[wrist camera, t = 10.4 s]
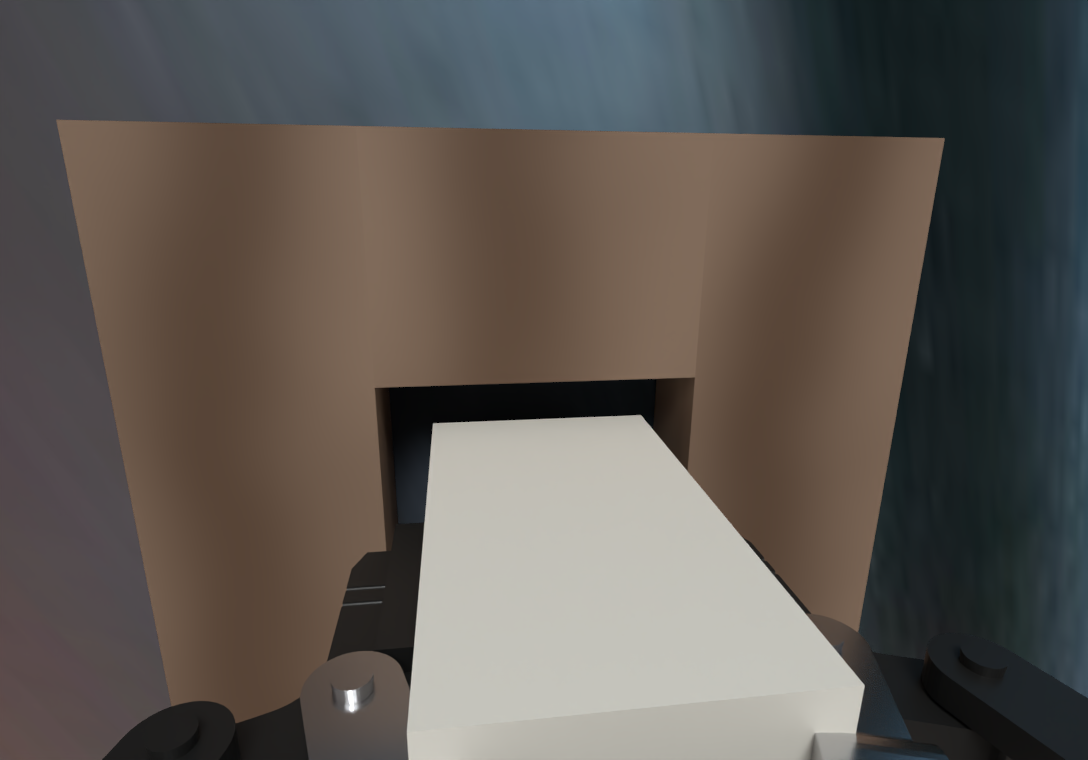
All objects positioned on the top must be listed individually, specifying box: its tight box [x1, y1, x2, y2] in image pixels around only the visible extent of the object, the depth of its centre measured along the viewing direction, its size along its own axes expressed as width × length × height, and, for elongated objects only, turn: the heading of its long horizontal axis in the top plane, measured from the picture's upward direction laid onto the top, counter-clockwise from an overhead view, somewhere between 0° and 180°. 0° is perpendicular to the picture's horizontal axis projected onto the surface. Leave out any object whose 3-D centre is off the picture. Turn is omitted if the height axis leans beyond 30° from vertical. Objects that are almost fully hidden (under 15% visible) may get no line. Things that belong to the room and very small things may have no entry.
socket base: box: [56, 120, 945, 723], centre depth 15 cm, size 16×16×2 cm
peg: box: [407, 415, 865, 760], centre depth 11 cm, size 4×4×8 cm
